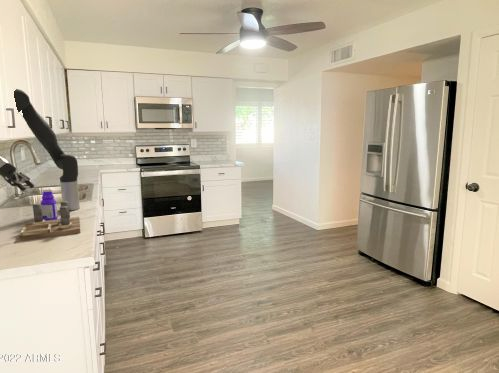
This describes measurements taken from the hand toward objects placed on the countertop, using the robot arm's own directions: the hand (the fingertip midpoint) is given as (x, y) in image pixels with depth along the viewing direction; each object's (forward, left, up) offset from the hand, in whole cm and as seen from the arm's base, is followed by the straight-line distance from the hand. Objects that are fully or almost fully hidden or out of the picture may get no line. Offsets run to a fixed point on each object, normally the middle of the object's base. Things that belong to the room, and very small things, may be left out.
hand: (29, 188), depth 179 cm
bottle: (+4, +8, -18) cm, 20 cm away
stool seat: (+23, +10, -18) cm, 31 cm away
